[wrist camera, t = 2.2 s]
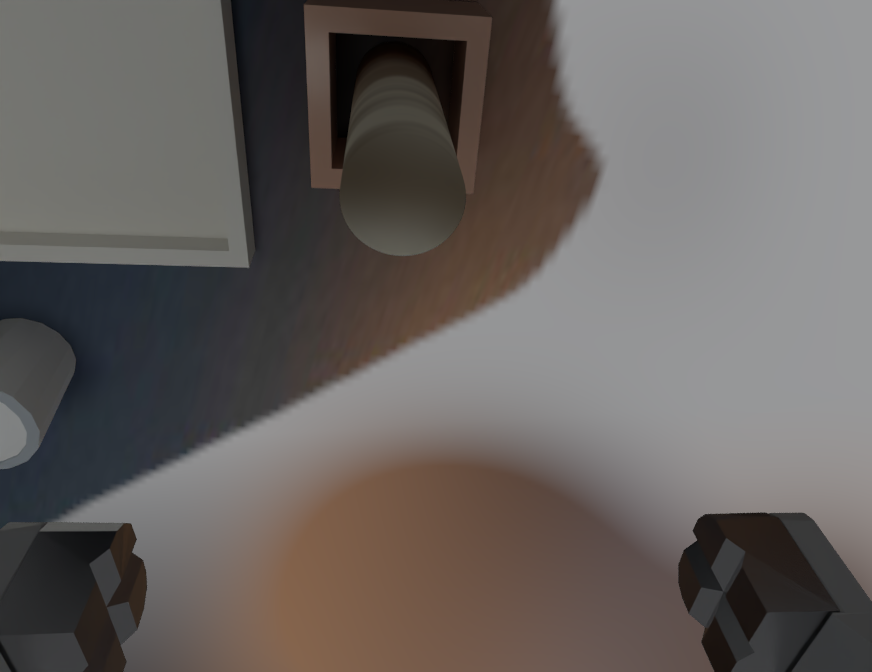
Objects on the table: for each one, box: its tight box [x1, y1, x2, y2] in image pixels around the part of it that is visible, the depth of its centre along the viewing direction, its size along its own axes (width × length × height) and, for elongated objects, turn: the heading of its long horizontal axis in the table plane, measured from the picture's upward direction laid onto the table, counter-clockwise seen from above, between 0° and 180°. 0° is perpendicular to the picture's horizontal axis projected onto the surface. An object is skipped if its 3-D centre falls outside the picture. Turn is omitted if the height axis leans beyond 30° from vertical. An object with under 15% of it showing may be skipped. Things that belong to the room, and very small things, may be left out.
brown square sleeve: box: [304, 0, 492, 194], centre depth 31 cm, size 8×8×5 cm
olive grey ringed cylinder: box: [339, 41, 466, 256], centre depth 27 cm, size 4×4×16 cm
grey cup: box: [0, 318, 76, 469], centre depth 38 cm, size 7×7×7 cm
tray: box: [0, 0, 255, 268], centre depth 31 cm, size 18×16×2 cm
